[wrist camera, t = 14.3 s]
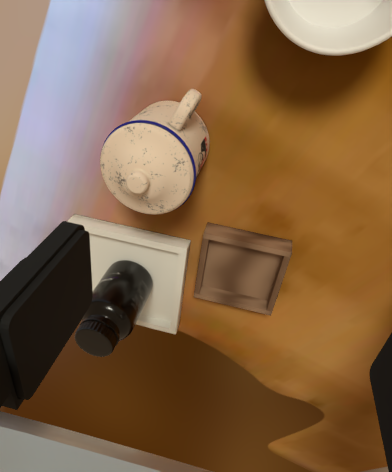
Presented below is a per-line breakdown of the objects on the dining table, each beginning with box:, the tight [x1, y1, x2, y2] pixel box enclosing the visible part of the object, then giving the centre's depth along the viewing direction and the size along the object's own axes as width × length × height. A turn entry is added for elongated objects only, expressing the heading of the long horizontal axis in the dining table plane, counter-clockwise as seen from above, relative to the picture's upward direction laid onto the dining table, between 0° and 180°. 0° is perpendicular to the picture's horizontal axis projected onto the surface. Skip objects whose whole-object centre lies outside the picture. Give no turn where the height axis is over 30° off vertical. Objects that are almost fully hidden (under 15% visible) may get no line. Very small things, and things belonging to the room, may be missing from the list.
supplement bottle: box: [75, 260, 153, 357], centre depth 48 cm, size 7×7×12 cm
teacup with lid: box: [100, 89, 209, 215], centre depth 35 cm, size 12×9×12 cm
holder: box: [194, 223, 292, 316], centre depth 47 cm, size 10×10×2 cm
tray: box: [67, 214, 191, 334], centre depth 52 cm, size 16×16×2 cm
